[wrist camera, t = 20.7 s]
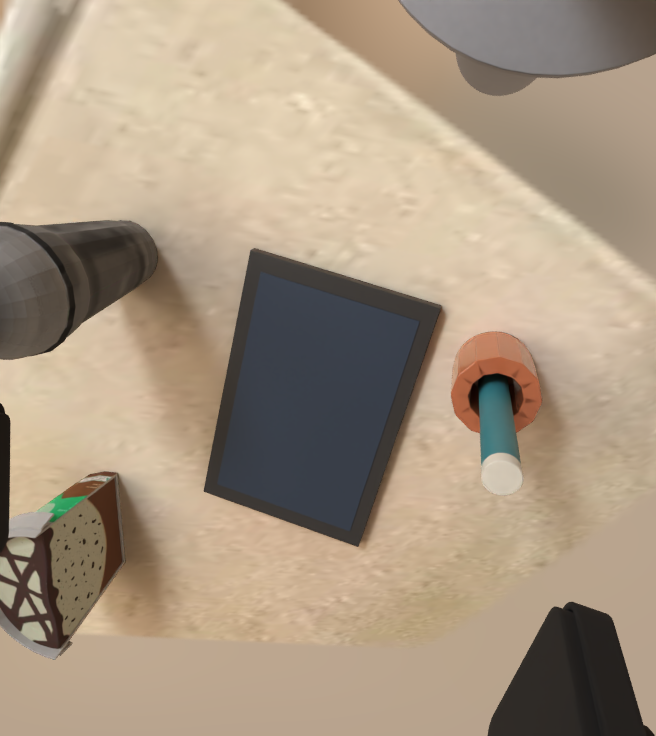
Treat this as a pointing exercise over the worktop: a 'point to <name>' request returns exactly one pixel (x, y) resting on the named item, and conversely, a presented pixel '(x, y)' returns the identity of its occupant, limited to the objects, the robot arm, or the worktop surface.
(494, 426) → the stylus
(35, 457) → the worktop surface
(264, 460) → the tablet
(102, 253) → the beverage cup
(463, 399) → the holder
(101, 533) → the food container
